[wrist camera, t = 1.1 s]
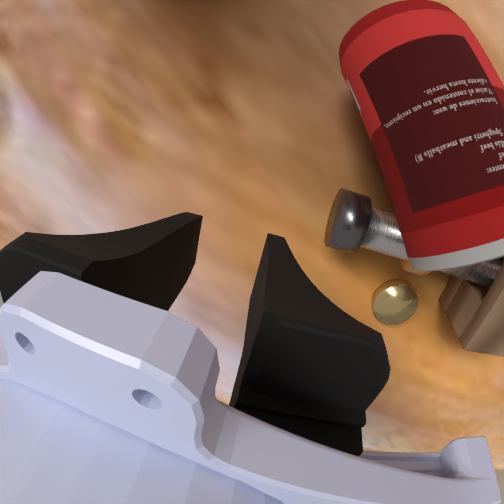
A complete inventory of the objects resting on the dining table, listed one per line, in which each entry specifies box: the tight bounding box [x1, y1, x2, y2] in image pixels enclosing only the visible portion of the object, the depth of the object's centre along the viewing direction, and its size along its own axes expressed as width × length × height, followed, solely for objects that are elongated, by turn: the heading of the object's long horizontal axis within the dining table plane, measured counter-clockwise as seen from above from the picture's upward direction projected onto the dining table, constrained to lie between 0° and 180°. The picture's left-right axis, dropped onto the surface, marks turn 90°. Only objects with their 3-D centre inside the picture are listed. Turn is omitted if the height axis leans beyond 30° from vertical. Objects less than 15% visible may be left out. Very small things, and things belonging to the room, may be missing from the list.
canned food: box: [339, 0, 504, 271], centre depth 12 cm, size 8×8×11 cm
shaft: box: [325, 188, 504, 287], centre depth 18 cm, size 13×4×4 cm, turn 78°
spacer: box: [372, 279, 418, 325], centre depth 23 cm, size 4×4×1 cm
